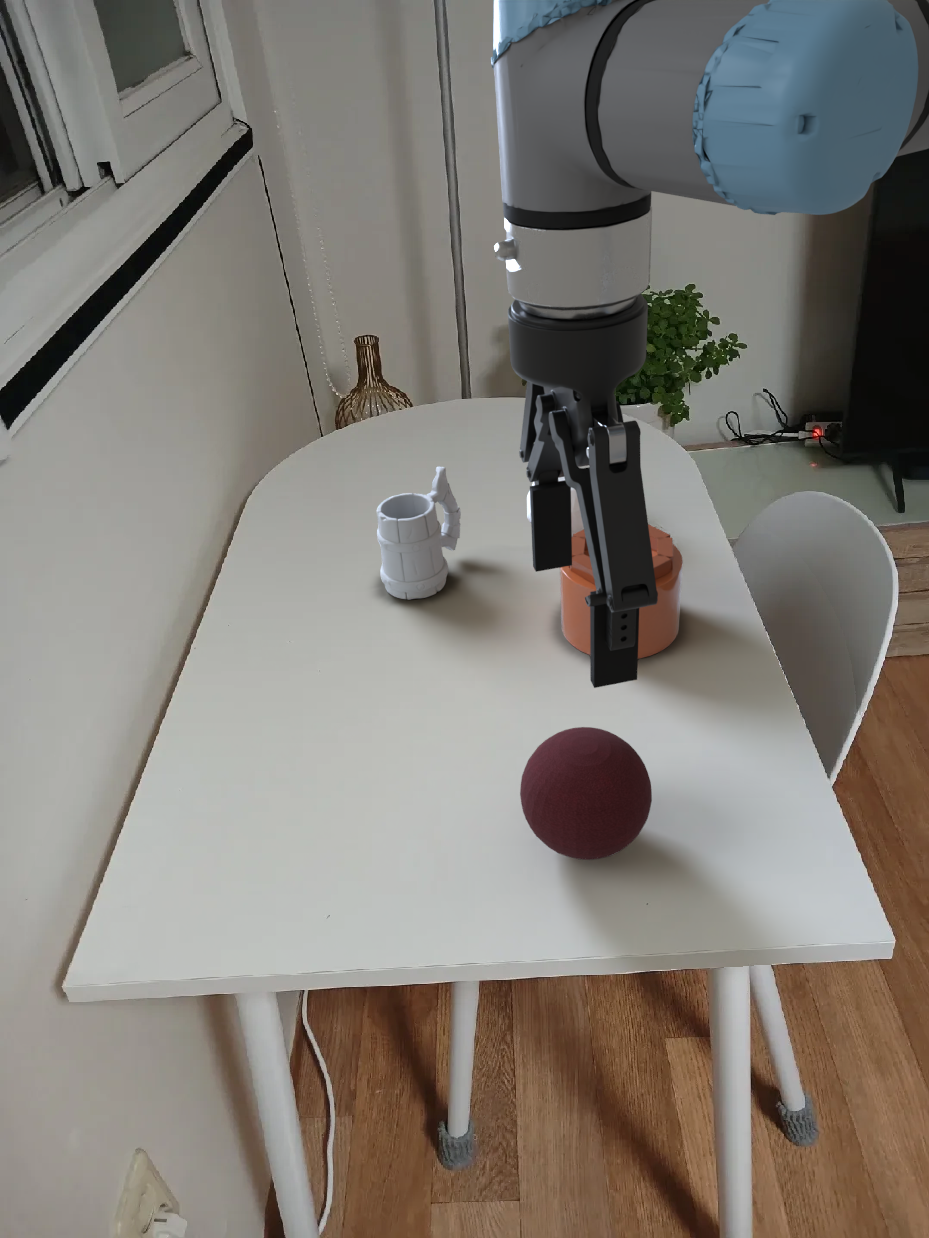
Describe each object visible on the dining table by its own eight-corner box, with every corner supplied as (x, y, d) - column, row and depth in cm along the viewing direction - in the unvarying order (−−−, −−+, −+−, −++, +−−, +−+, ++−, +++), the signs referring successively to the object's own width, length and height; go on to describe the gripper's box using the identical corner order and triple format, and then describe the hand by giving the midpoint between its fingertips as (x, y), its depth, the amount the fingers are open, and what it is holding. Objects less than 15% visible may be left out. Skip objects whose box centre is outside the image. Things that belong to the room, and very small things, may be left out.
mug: (368, 588, 108) (352, 494, 101) (437, 543, 115) (427, 452, 108) (417, 609, 104) (404, 512, 97) (486, 561, 111) (478, 468, 104)
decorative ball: (522, 792, 80) (516, 702, 75) (642, 790, 79) (646, 698, 74) (523, 888, 72) (516, 795, 66) (657, 886, 71) (661, 792, 66)
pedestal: (680, 662, 93) (685, 580, 87) (557, 658, 95) (554, 578, 89) (677, 593, 102) (681, 516, 97) (565, 591, 104) (563, 515, 99)
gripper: (462, 249, 61) (485, 536, 73) (578, 391, 41) (582, 754, 53) (576, 234, 62) (579, 520, 74) (744, 365, 41) (710, 728, 54)
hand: (580, 618), depth 63 cm, fingers open, 13 cm apart
